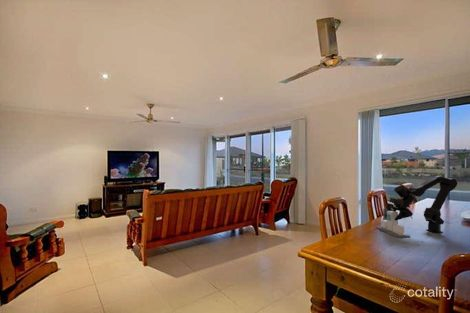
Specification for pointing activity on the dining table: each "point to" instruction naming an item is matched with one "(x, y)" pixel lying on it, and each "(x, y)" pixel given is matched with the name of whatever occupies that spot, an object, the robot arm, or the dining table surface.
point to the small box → (385, 213)
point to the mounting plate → (397, 229)
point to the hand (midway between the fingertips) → (390, 218)
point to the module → (391, 219)
